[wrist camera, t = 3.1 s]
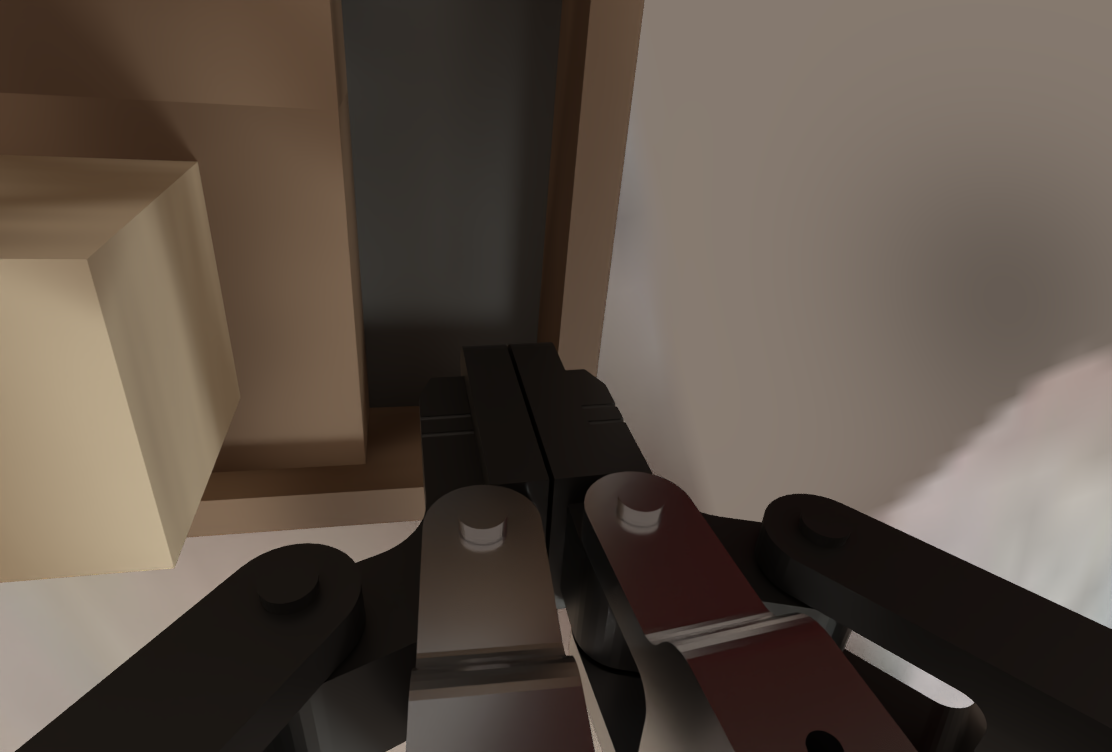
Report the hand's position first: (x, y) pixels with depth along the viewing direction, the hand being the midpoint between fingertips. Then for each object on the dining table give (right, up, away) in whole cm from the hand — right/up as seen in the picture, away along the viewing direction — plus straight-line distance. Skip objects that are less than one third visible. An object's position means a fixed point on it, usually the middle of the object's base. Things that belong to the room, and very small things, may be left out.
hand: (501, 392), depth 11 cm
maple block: (-8, +2, +1) cm, 9 cm away
